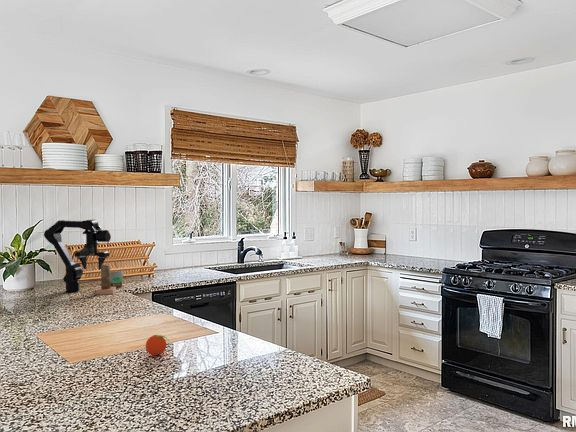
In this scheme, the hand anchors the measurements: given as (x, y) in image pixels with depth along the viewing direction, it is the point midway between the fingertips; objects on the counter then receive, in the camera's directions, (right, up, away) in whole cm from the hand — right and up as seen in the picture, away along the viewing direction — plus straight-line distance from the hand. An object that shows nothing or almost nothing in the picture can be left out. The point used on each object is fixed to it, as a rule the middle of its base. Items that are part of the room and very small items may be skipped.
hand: (92, 269), depth 285 cm
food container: (+9, -13, +13) cm, 20 cm away
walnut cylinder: (+8, -11, -2) cm, 14 cm away
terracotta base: (+8, -13, -2) cm, 16 cm away
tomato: (+66, -18, -112) cm, 132 cm away
